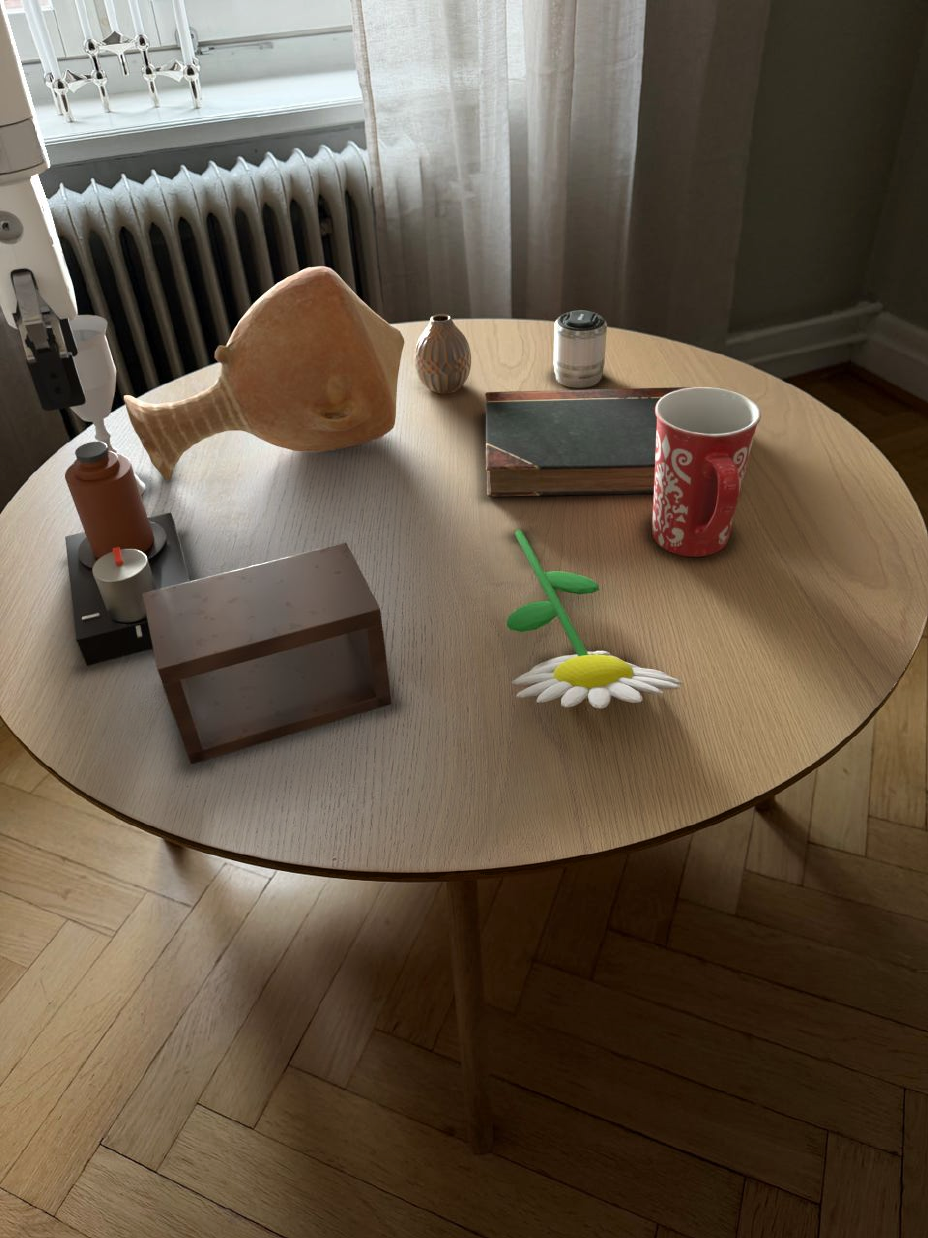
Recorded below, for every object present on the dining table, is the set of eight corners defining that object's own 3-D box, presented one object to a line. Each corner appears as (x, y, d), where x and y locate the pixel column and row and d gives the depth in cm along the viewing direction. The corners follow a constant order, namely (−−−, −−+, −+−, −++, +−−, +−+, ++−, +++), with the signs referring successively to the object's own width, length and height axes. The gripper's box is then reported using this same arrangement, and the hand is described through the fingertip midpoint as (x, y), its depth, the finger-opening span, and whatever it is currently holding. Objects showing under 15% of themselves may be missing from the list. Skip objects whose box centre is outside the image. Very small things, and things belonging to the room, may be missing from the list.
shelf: (190, 765, 69) (157, 669, 63) (173, 687, 76) (141, 593, 69) (392, 704, 73) (380, 608, 67) (360, 635, 80) (346, 541, 73)
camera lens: (606, 368, 117) (610, 307, 112) (599, 391, 112) (604, 329, 107) (557, 364, 118) (559, 304, 113) (548, 387, 113) (550, 325, 108)
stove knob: (164, 614, 78) (149, 569, 75) (110, 628, 77) (93, 583, 74) (156, 584, 81) (142, 540, 78) (105, 598, 80) (88, 553, 77)
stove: (88, 680, 77) (76, 652, 75) (74, 561, 89) (64, 534, 87) (208, 647, 79) (200, 619, 77) (178, 536, 92) (171, 510, 90)
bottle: (94, 567, 83) (58, 472, 76) (89, 534, 87) (55, 441, 80) (157, 552, 84) (127, 457, 78) (150, 520, 88) (121, 427, 82)
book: (486, 498, 95) (729, 493, 94) (485, 468, 93) (735, 462, 92) (485, 416, 108) (699, 411, 108) (485, 388, 106) (703, 382, 105)
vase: (483, 384, 114) (482, 315, 109) (445, 404, 111) (441, 335, 105) (443, 368, 118) (440, 301, 112) (405, 387, 114) (399, 319, 109)
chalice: (137, 466, 102) (88, 308, 90) (167, 490, 98) (120, 328, 87) (75, 492, 99) (16, 331, 87) (103, 518, 95) (45, 353, 83)
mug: (633, 510, 93) (646, 387, 84) (723, 506, 93) (745, 383, 84) (658, 590, 83) (676, 460, 74) (758, 585, 83) (787, 455, 74)
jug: (445, 376, 90) (145, 477, 85) (430, 452, 109) (183, 539, 103) (369, 206, 93) (76, 292, 88) (367, 308, 112) (124, 384, 106)
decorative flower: (455, 565, 90) (531, 768, 66) (454, 521, 88) (534, 715, 63) (579, 553, 92) (699, 746, 68) (583, 509, 90) (709, 693, 65)
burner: (81, 581, 82) (80, 579, 82) (75, 533, 88) (74, 531, 87) (172, 559, 84) (171, 556, 84) (161, 514, 90) (160, 511, 89)
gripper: (48, 172, 58) (120, 418, 69) (39, 118, 71) (101, 334, 82) (-81, 187, 56) (14, 438, 67) (-67, 129, 69) (11, 348, 80)
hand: (62, 380), depth 74 cm, fingers open, 9 cm apart
